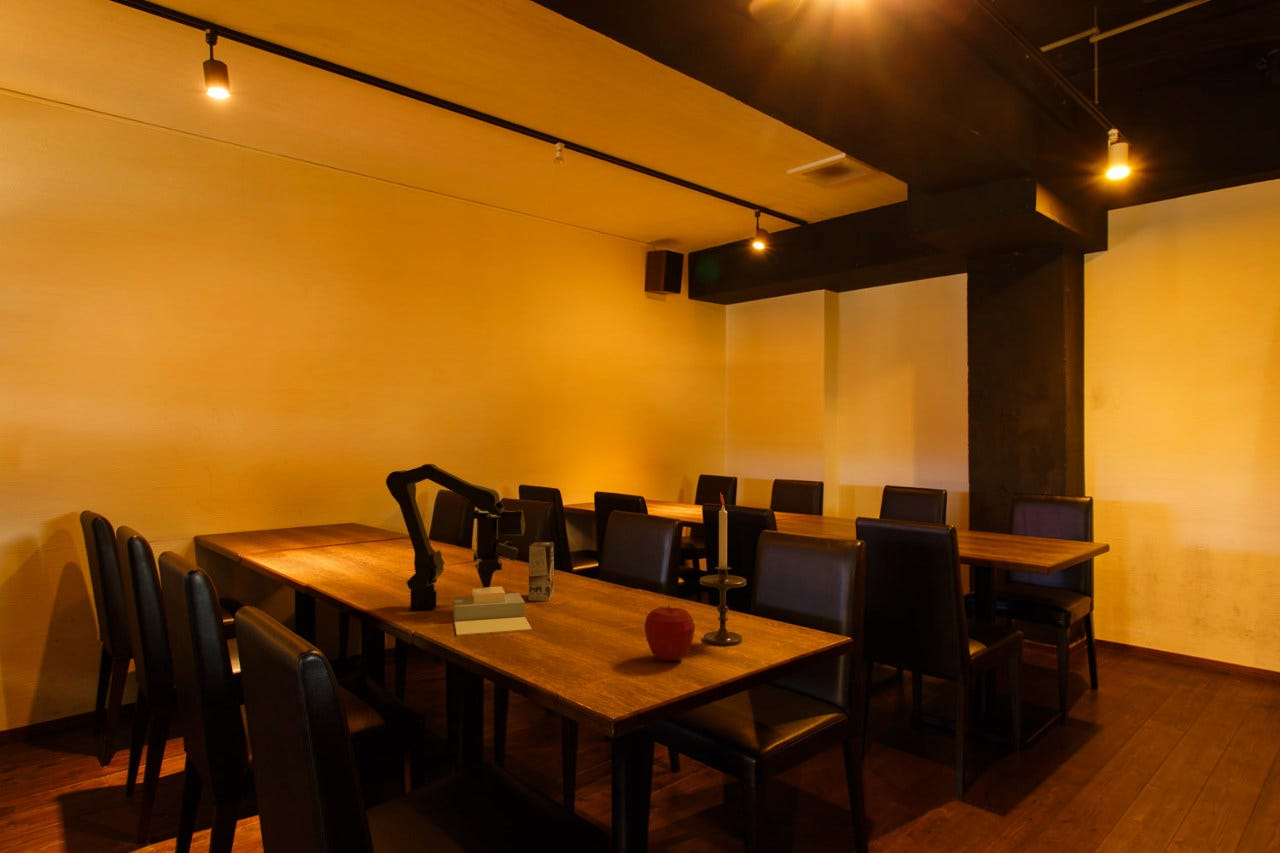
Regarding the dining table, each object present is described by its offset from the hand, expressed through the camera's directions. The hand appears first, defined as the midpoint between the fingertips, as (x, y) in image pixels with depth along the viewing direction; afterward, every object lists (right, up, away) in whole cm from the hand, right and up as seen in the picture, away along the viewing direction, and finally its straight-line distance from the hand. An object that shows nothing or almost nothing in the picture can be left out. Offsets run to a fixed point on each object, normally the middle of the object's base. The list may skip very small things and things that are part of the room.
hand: (486, 591), depth 192 cm
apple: (+49, -5, -43) cm, 66 cm away
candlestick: (+62, -5, -29) cm, 69 cm away
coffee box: (+13, -6, +15) cm, 20 cm away
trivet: (+2, -1, -6) cm, 6 cm away
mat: (+6, -5, -18) cm, 20 cm away
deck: (+2, -5, -6) cm, 8 cm away
